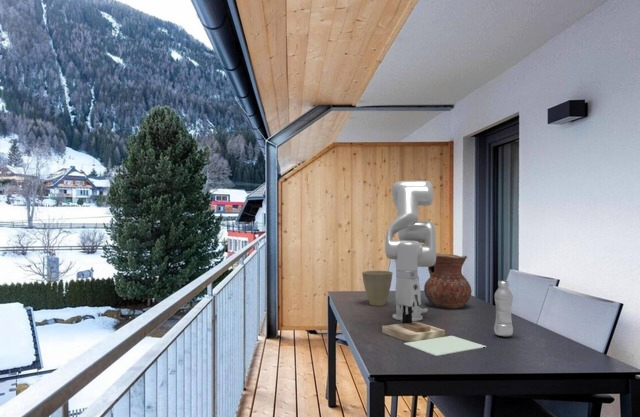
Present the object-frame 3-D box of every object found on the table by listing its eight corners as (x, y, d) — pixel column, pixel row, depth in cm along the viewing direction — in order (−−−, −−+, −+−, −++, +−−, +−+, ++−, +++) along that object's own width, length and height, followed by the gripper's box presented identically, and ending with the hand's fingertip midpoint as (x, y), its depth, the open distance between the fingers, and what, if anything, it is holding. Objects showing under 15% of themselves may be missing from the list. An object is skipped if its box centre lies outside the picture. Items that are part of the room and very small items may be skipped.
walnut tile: (416, 326, 180) (416, 322, 180) (430, 330, 172) (430, 326, 172) (403, 327, 177) (403, 323, 177) (417, 332, 170) (417, 328, 170)
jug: (476, 305, 236) (476, 254, 236) (464, 312, 218) (464, 257, 218) (432, 300, 247) (432, 252, 248) (417, 307, 230) (417, 254, 230)
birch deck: (415, 327, 188) (415, 321, 188) (444, 337, 173) (444, 330, 174) (382, 332, 180) (382, 325, 180) (409, 342, 166) (409, 335, 166)
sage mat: (451, 336, 174) (451, 335, 174) (486, 347, 160) (486, 346, 160) (403, 344, 164) (403, 343, 164) (436, 356, 150) (436, 355, 150)
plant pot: (371, 300, 246) (371, 269, 247) (397, 304, 238) (397, 271, 238) (356, 305, 234) (356, 272, 234) (383, 308, 226) (383, 274, 226)
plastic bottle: (512, 334, 177) (512, 280, 178) (513, 339, 171) (513, 282, 171) (494, 333, 179) (493, 279, 180) (494, 337, 173) (494, 282, 173)
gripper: (428, 276, 175) (428, 327, 175) (402, 272, 188) (402, 319, 188) (412, 277, 171) (411, 329, 171) (387, 273, 185) (387, 321, 184)
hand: (407, 324), depth 179 cm, fingers closed
